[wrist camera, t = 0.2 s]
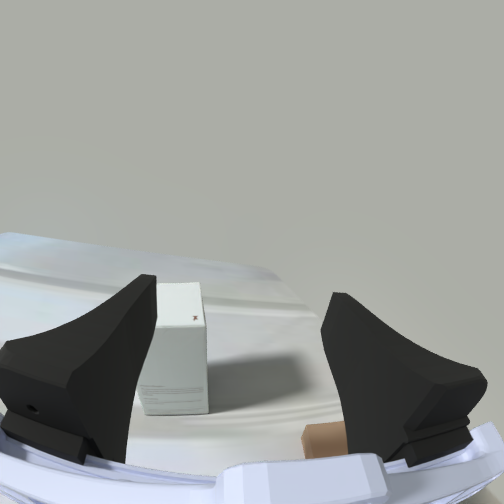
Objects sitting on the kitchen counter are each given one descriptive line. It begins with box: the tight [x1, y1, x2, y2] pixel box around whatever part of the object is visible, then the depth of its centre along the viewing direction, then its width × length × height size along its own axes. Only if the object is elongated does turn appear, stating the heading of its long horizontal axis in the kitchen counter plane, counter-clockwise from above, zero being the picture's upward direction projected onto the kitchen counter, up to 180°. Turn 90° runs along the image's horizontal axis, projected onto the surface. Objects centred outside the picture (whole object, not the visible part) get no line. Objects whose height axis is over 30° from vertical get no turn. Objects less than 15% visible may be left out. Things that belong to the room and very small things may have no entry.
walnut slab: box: [301, 421, 348, 459], centre depth 24 cm, size 7×7×3 cm
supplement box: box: [136, 283, 209, 415], centre depth 29 cm, size 7×7×13 cm
